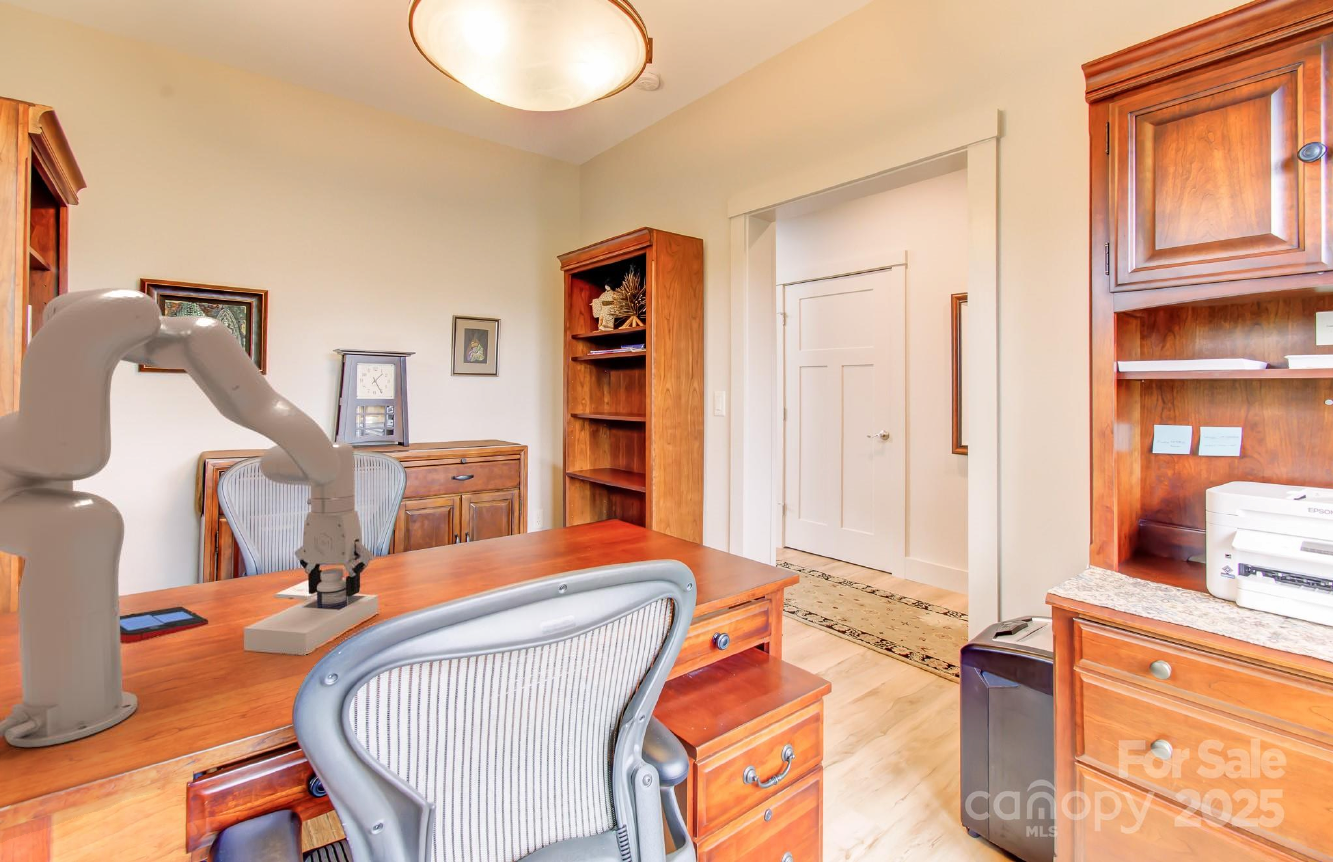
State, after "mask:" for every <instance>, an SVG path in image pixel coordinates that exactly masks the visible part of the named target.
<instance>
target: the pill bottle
mask: <svg viewBox="0 0 1333 862" xmlns="http://www.w3.org/2000/svg"><path fill="white" fill-rule="evenodd" d="M344 573H345V572H344V568H339V567H335V568H334V567H333V568H328V569H324V570H323V569H322V572H321V580H322V582H320V583H319V584H318V585H317V608H319V609H333V610H340V609H342V608H344V607H346V606H348V596H346V578H344V576H345V574H344ZM342 578H343V579H342Z"/></svg>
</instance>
